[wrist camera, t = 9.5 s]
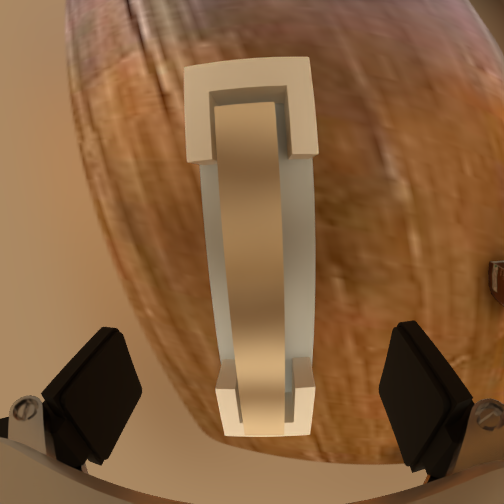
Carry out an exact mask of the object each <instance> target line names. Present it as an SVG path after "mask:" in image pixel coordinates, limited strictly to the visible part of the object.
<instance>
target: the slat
mask: <svg viewBox="0 0 504 504" xmlns="http://www.w3.org/2000/svg"><path fill="white" fill-rule="evenodd" d="M214 113H215V132H216V150H217V166H218V181H219V196H220V209H221V222H222V234H223V246H224V258H225V269H226V279H227V290H228V300H229V310H230V319H231V329H232V338H233V347H234V355H235V364H236V372H237V380H238V388H239V396H240V404H241V411H242V419H243V426H244V433H245V435H247V436H271V435H284V418H285V307H284V265H283V236H282V213H281V192H280V174H279V157H278V142H277V128H276V114H275V102H259V103H245V104H234V105H224V106H215V107H214Z"/></svg>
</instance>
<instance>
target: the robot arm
mask: <svg viewBox="0 0 504 504" xmlns="http://www.w3.org/2000/svg"><path fill="white" fill-rule="evenodd" d="M41 394H42V396H43V398H44V399H45V401H44V402H43V403H42V402H41V400H40V399H39V398H38V397H36V396H31V395H30V396H24V397H21V398H20V399H18V400H16V401H15V402H14V404H13V405H12V406H11V408H10V412H9V417H6V418H2V419H0V504H191V503H185V502H180V501H174V500H170V499H165V498H161V497H157V496H153V495H149V494H145V493H141V492H138V491H134V490H131V489H128V488H124V487H121V486H118V485H115V484H113V483H109V482H107V481H104V480H101V479H98V478H96V477H94V476H91V475H89V474H88V471H87V468H86V464H85V461H86V460H87V459H88V460H89V461H90V462H93V463H95V464H98V465H102V464H103V461H104V460H106V459H108V458H109V456H110V454H111V452H112V450H113V448H114V446H115V444H116V442H117V441H118V438H119V436H120V435H121V433H122V431H123V429H124V427H125V425H126V423H127V421H128V419H129V417H130V415H131V414H132V412H133V410H134V408H135V406H136V404H137V402H138V400H139V399H140V397H141V394H142V387H141V384H140V382H139V379H138V376H137V374H136V371H135V369H134V365H133V363H132V360H131V357H130V354H129V352H128V348H127V345H126V342H125V339H124V336H123V334H122V333H121V332H119V330H118V329H117V328H110V327H102V328H101V329H100V330H99V331H98V332H97V333H96V334H95V335H94V336H93V337H92V338H91V339H90V340H89V341H88V342H87V343H86V344H85V346H83V347H82V349H81V350H80V351H79V352H78V353H77V354H76V355H75V356H74V357H73V358H72V359H71V360H70V361H69V363H68V364H67V365H66V366H65V367H64V368H63V369H62V370H61V371H60V373H59V374H58V375H57V376H56V377H55V378H54V379H53V380H52V381H51V383H50V384H49V385H48V386H47V387H46V388H45V389H44V391H43V392H42V393H41ZM379 394H380V397H381V400H382V402H383V405H384V407H385V410H386V413H387V415H388V418H389V421H390V423H391V426H392V429H393V431H394V434H395V437H396V440H397V443H398V445H399V448H400V451H401V454H402V457H403V460H404V463H405V465H406V466H410V468H411V470H412V473H413V472H416V471H419V470H422V469H425V470H426V472H427V477H426V479H425V481H424V483H423V485H420V486H417V487H414V488H411V489H408V490H404V491H401V492H397V493H394V494H390V495H385V496H382V497H377V498H373V499H369V500H364V501H359V502H353V503H348V504H504V404H502V403H501V402H499V401H497V400H494V399H483V400H480V401H478V402H477V403H476V404H474V402H473V401H472V398H473V397H472V395H471V394H470V392H469V391H468V389H467V388H466V387H465V385H464V384H463V382H462V381H461V380H460V378H459V377H458V375H457V374H456V373H455V371H454V370H453V369H452V367H451V366H450V364H449V363H448V362H447V360H446V359H445V358H444V356H443V355H442V354H441V353H440V351H439V350H438V349H437V347H436V346H435V345H434V343H433V342H432V341H431V340H430V338H429V337H428V336H427V335H426V333H425V332H424V331H423V330H422V328H421V327H420V326H419V325H418V324H417V322H416V321H407V322H400V323H398V325H397V327H395V328H393V331H392V335H391V340H390V344H389V349H388V353H387V357H386V362H385V366H384V369H383V373H382V377H381V381H380V384H379Z"/></svg>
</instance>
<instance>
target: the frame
mask: <svg viewBox="0 0 504 504" xmlns="http://www.w3.org/2000/svg"><path fill="white" fill-rule="evenodd" d="M259 102H275V114H276V128H277V142H278V157H279V174H280V192H281V213H282V236H283V265H284V307H285V418H284V435H271V436H296V435H310V430H311V422H312V414H313V405H314V396H315V382H314V377H313V371H312V357H313V339H314V315H315V202H314V178H313V159H312V157H314V156H316V155H318V154H319V149H318V136H317V123H316V112H315V102H314V93H313V84H312V76H311V68H310V61H309V57H264V58H249V59H237V60H228V61H220V62H212V63H205V64H199V65H193V66H188V67H184V111H185V137H186V156H187V162H188V163H193V164H198V165H200V180H201V193H202V206H203V218H204V229H205V240H206V250H207V259H208V269H209V278H210V286H211V295H212V303H213V311H214V319H215V326H216V333H217V341H218V348H219V354H220V361H221V369H220V372H219V376H218V380H217V384H216V388H215V390H216V395H217V400H218V405H219V410H220V415H221V420H222V424H223V429H224V433H225V436H247V435H245V433H244V426H243V419H242V411H241V404H240V396H239V388H238V380H237V372H236V364H235V355H234V347H233V338H232V329H231V319H230V310H229V300H228V290H227V279H226V269H225V258H224V246H223V234H222V222H221V209H220V196H219V181H218V166H217V150H216V132H215V113H214V107H215V106H224V105H234V104H245V103H259ZM271 436H247V437H271Z"/></svg>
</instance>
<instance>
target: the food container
mask: <svg viewBox="0 0 504 504" xmlns="http://www.w3.org/2000/svg"><path fill="white" fill-rule="evenodd" d="M488 275H489V287H490V290H491V294H492V295H493V296H494V298H495V299H496V300H497V301H498V302H499V303H501V304H502V305H503V306H504V260H502V261H490V263H489V271H488Z"/></svg>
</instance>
